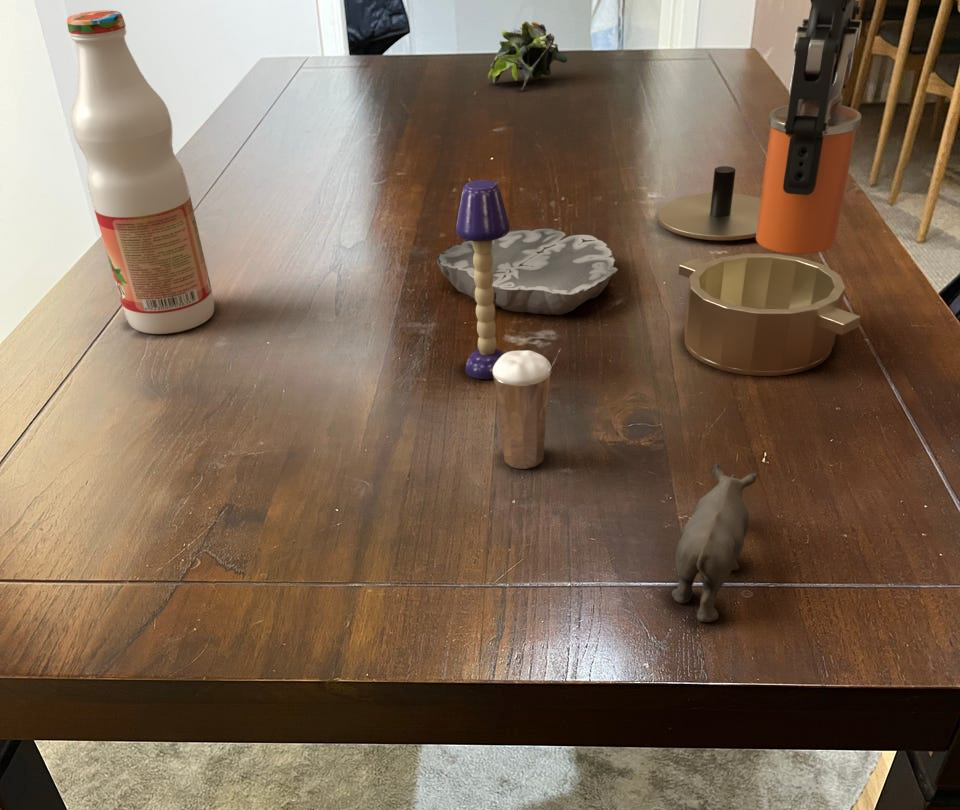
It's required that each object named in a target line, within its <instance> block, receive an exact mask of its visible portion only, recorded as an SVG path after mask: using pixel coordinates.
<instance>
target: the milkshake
mask: <svg viewBox="0 0 960 810" xmlns="http://www.w3.org/2000/svg"><path fill="white" fill-rule="evenodd" d="M561 350H562V348H559V350H558V352H557V354H556V357H555V358H554V360H553V363H552V365H551V363H550V361H549V360H548V359H547V358H546V357H545V356H544V355H542V354H540V353H538V352H535V351H533V350H527V349H525V350H510V351H506V352H505V353H504V354H503V355H502V356H501V357H500V358H499V359H498V360H497V362H496V363H495V365H494V366H493V384H494V391H495V397H496V403H497V409H498V416H499V423H500V434H501V441H502V449H503V459H504V463H505V464H507V465H508V466H510V467H511V468H512V469H513V468H514V469H520V470H526V469H532V468H536V467H537V466H538V465H540V464H541V463H542V462H543V461H544V454H545V452H544V451H545V440H546V439H545V438H546V427H547V426H546V424H547V414H548V413H547V412H548V402H549V394H550V386H551V385H550V384H551V378H552V377H551V376H552V369H553V367H554V365H555V363H556V361H557V358H558V356H559V354H560V352H561Z"/></svg>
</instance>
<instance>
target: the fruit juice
mask: <svg viewBox="0 0 960 810" xmlns="http://www.w3.org/2000/svg"><path fill="white" fill-rule="evenodd" d="M66 24H67V29H68V33H69V34H70V39H71V40H72V41H73V42H75V44H76V49H77V62H78V66H77V67H78V75H77V76H78V79H77V80H78V81H77V92H76V96H75V99H74V101H73V105H72V108H71V114H70V123H71V129H72V134H73V136H74V139H75V141H76V143H77V145H78V147H79V149H80V150H81V152H82V154H83V155H84V158H85V160H86V164H87V173H86V182H87V187H88V191H89V192H88V193H89V196H90V201H91V204H92V208H93V211H94V214H95V218H96V220H97V224H98V227H99V231H100V235H101V238H102V241H103V244H104V249H105V251H106V255H107V258H108V261H109V265H110V268H111V272H112V275H113V279H114V282H115V287H116V289H117V293H118V295H119V299H120V302H121V307H122V310H123V313H124V316H125V318H126V321H127V322H128V324H129V326H131V328H133V329H134V330H135V331H138V332H140V333H144V334H150V335H167V334H175V333H180V332H185V331H188V330H192V329H193V328H197V327H198V326H200V325H202V324H204V323H206V322H207V321H208V320H210V318H212V317H213V315H214V312H215V297H214V293H213V289H212V286H211V281H210V276H209V272H208V267H207V263H206V258H205V254H204V250H203V246H202V242H201V238H200V237H201V236H200V232H199V229H198V224H197V220H196V215H195V210H194V207H193V202H192V198H191V193H190V187H189V184H188V181H187V177H186V173H185V171H184V168H183V165H182V164H181V162H180V160H179V159H178V158H177V156H176V154H175V151H174V148H173V121H172V118H171V113H170V111H169V108H168V106H167V104H166V103H165V101H164V99H163V98H162V97H161V96H160V95H159V94H158V93H157V91H156V90H155V89H154V88H153V87H152V86H151V84H149V82H148V80H147V79H146V78H145V76H144V75H143V72H141V70H140V68H139V66H138V64H137V62H136V60H135V58H134V57H133V54H132V53H131V51H130V49H129V46H128V44H127V41H126V35H127V30H126V21H125V19H124V17H123V14H122V12H120V11H118V10H109V9H108V10H107V9H105V10H104V9H103V10H93V11H86V12H79V13H76V14H73V15H70V16H68V17H67V19H66Z"/></svg>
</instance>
